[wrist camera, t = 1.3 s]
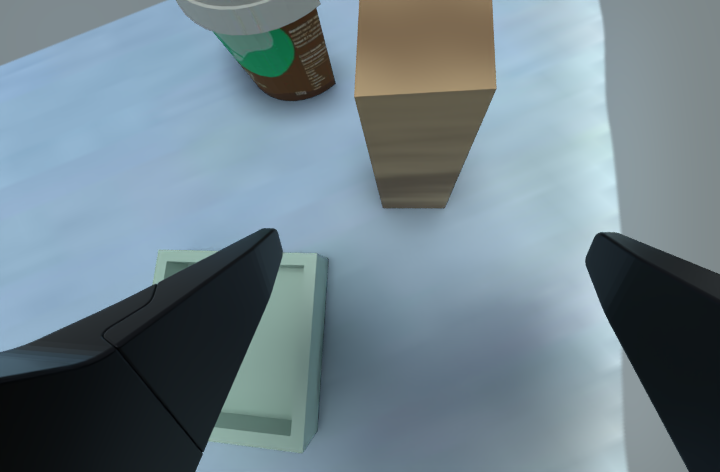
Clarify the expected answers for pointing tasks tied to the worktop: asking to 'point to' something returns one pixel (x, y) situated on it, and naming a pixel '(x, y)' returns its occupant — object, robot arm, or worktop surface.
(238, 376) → the tray
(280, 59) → the food container
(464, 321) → the worktop surface
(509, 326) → the worktop surface
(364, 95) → the walnut post
